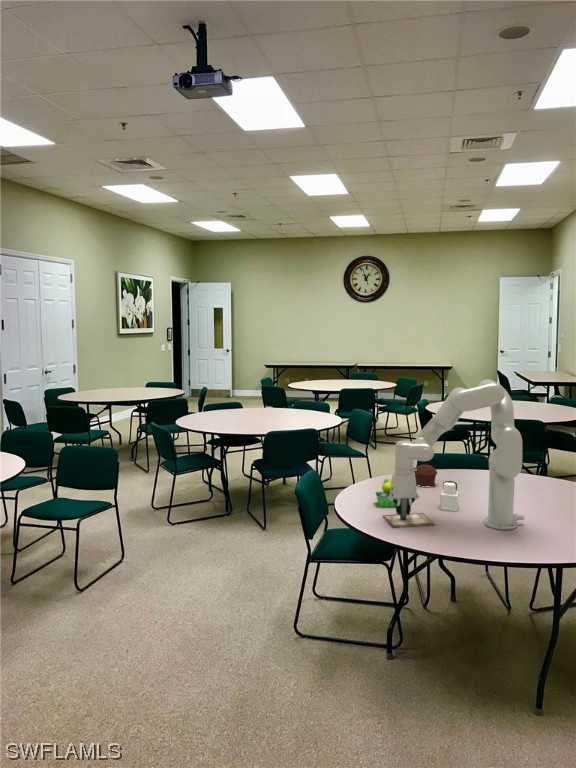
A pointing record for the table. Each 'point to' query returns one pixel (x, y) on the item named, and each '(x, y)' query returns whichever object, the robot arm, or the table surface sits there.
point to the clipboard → (408, 520)
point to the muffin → (425, 475)
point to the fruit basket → (385, 495)
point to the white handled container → (449, 496)
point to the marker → (403, 509)
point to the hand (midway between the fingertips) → (403, 513)
